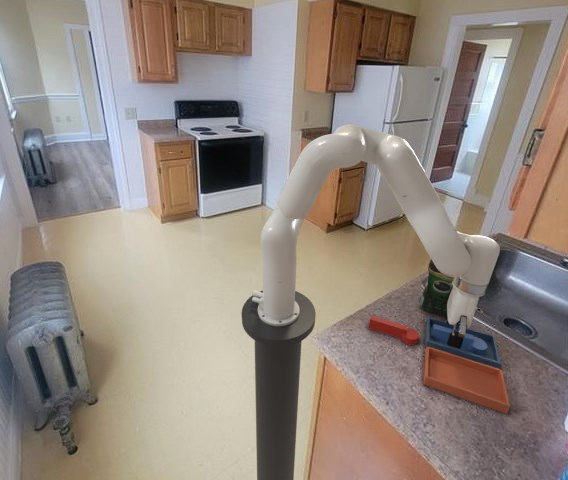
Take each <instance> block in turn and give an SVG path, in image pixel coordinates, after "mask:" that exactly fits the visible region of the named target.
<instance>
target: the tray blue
mask: <svg viewBox="0 0 568 480" xmlns="http://www.w3.org/2000/svg"><path fill="white" fill-rule="evenodd" d="M434 324H436V325H439V326H443V327H446V328H450V329H453V325H450V324H448V323H446V321H444V320H441V319H438V318H434V317H430V316H427V317H426V322H425V339H424V340H425V341H424V344H425V345H424V348H425V349H426V347H427V346H428V347H431V348H434V349H438V350H441V351H444V352H447V353H450V354H454V355H457V356H460V357H463V358H466V359H470V360H473V361H476V362H479V363H482V364H485V365H489V366H492V367H495V368H498V369H501V365H502V363H501V358H500V353H499V350H498V349H499V347H498V343H497V340H496V336H495V335H494V334H491V333H487V332H484V331H480V330H476V329H474V328H471V327H470V328H469V329H466V332H465V333H467V334H470V335H474V337H477V338H480V339H482V340H483V341H484V342H485V343H486V344H487V349H486V352H485V354H484V355H476V354H474V353H472V352H471V351H470V350H469V349H468V348H465V347H462V346H461V348H460V349H458V348H455V347H452V346H448V345H447V342H445V341H442V340H438V339H435V338H432V337H431V332H432V329H433V325H434ZM456 330H457V331H458V330H459V327H457V326H456Z"/></svg>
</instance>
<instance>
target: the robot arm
mask: <svg viewBox="0 0 568 480" xmlns="http://www.w3.org/2000/svg"><path fill="white" fill-rule="evenodd" d="M361 162H364V163H368V164H370V165H371V164H372V165H376V166H377V168H378V171H379V172H380V174H381V176H382V178H383V180H384V181H385V183H386V185H387V186H388V188H389V189H390V191H391V193H392V195H393V196H394V198H395V199H396V201H397V203H398V205H399V207H400V209H401V210H402V212H403V213H404V215H405V217H406V219H407V220H408V223H409V224H410V225H411V226H412V229H413V230H414V231H415V233H416V235H417V236H418V239H419V240H420V242H421V244H422V245H423V247H424V249H425V251H426V253H427V255H428V256H429V258H430V260H431V259H432V261H433V263H434V264H435V266H436V268H437V269H438V270H439V271H440V272H441V273H442V274H444V275H446V276H450V277H454V278H453V281H452V284H453V288H452V291H451V293H450V296H449V299H448V302H447V317H446V321H445V322H446V323H448V324H450V325H453V329H452V332H450V335H449V338H448V341H447V345H448V346H452V347H455V348H458V349H460V348H461V346H462V343H463V340H464V337H465V332H466V329H469V328H470V329H471V325H472V323H473V320H474V317H475V314H476V310H477V306H478V303H479V299H480V297H484V296H485V294H486V292H487V289H488V286H489V284H490V281H491V277H492V275H493V272H494V269H495V266H496V264H497V262H498V258H499V256H500V252H501V247H500V244H499V243H498V242H497V241H495V240H494V239H492V238H491V237H488V236H486V235H485V236H484V235H479V234H473V235H471V234H468V233H467V234H466V233H463V232H460V231H457V230H456V228H455V226H454V224H453V223H452V221H451V219H450V217H449V215H448V213H447V211H446V208H445V206H444V203H443V202H442V200H441V198H440V196H439V194H438V192H437V190H436V189H435V187H434V185H433V183H432V182H431V180H430V177H429V176H428V174H427V173H426V171H425V169H424V167H423V166H422V164H421V162H420V160H419V158H418V157H417V155H416V153H415V151H414V150H413V148H412V147H411V145H410V144H409V143H408V141H407V140H405V138H403V137H400V136H398V135H394V134H390V133H386V132H384V131H383V132H382V131H379V130H376V129H372V128H369V127H365V126H361V125H357V124H354V123H350V124H349V123H348V124H347V123H346V124H343V125H341V126H339V127H337V129H336V130H334V132H333V133H330V134H325V135H321V136H319V137H317V138H314V139H313V140H311V141H310V142H309V143H308V144H307V145H305V147H304V148H303V149H302V150H301V152H300V154H299V156H298V158H297V160H296V161H295V164H294V165H293V167H292V169H291V171H290V174H289V175H288V178H287V179H286V181H285V182H284V184H283V186H282V188H281V189H280V192H279V195H278V199H277V201H276V202H275V206H274V207H273V209H272V211H271V214H270V216H268V219H267V220H266V221H265V223H264V225H263V228H262V229H261V233H260V248H261V256H262V290H263V293H261V292H260V291H259V290H256V289H254V290H253V291H252V294H251V296H254V297H253V298H252V301H254V302H257V303H259V306H258V315H259V317H260V319H261V320H262V321H263V322H265V323H266V324H269V325H272V326H286V325H289V324H291V323H293V322H294V321H295V320H296V319H297V318H298V316H299V311H300V310H299V305H298V304H297V302H296V301H295V291H296V283H297V244H298V237H299V235H300V232H301V231H300V230H301V228H302V226H303V223H304V220H306V217H307V215H309V213H311V211H312V209H313V208H314V206H315V204H316V202H317V201H316V200H317V198H318V196H319V194H320V192H321V190H322V189H323V186H324V184H325V183H326V181H327V179H328V177H329V176H330V174H331V173H332V172H334V171H336V170H338V169H346V168H352V167H354V166H356V165H358V164H360V163H361ZM256 297H257V298H256ZM258 298H260V299H258ZM456 326H457V327H459V330H458V331H455V330H456Z"/></svg>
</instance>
